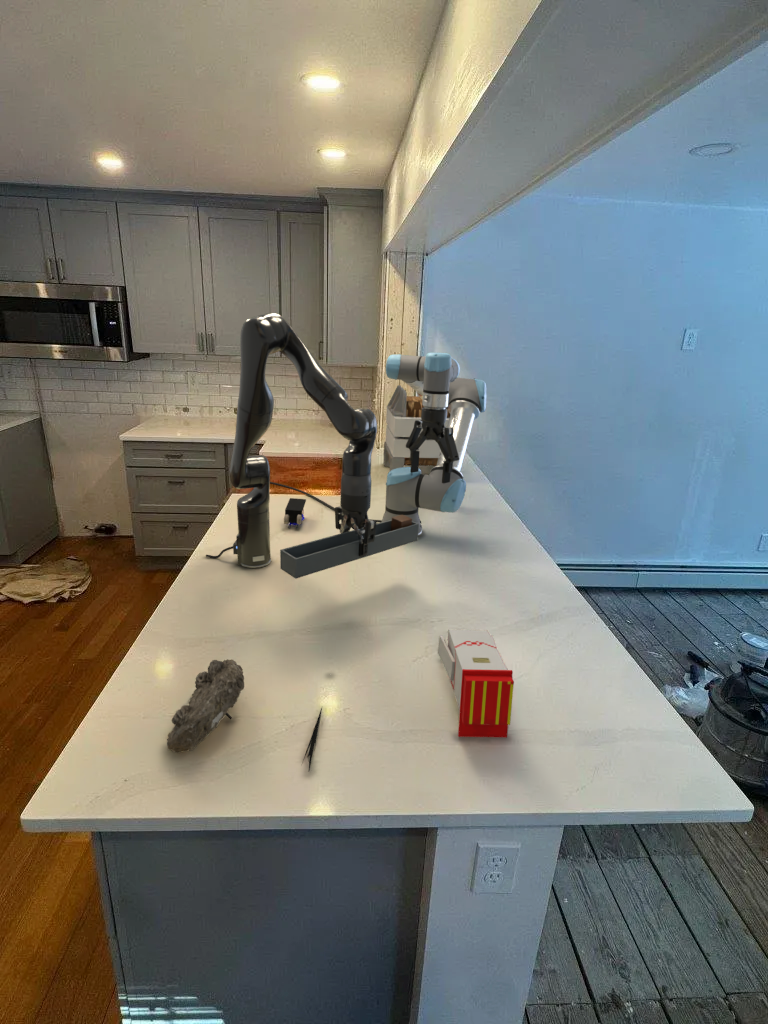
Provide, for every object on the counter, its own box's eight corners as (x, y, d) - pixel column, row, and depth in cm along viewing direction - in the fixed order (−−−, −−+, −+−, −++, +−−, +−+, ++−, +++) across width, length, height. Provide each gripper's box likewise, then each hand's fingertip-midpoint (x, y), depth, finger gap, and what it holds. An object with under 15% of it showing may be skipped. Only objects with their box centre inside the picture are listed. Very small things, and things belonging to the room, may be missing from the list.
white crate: (382, 463, 289) (386, 382, 275) (445, 464, 293) (451, 384, 279) (390, 482, 257) (394, 392, 243) (460, 483, 261) (468, 394, 247)
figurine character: (302, 534, 199) (307, 515, 212) (302, 515, 195) (306, 496, 209) (283, 533, 199) (289, 514, 212) (282, 514, 195) (288, 496, 209)
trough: (280, 568, 136) (280, 549, 134) (401, 533, 162) (402, 516, 160) (295, 578, 132) (295, 559, 130) (417, 540, 157) (418, 523, 155)
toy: (488, 613, 130) (523, 677, 101) (484, 667, 133) (517, 744, 104) (435, 612, 130) (455, 676, 101) (432, 666, 133) (451, 743, 103)
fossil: (192, 660, 117) (244, 628, 112) (224, 691, 120) (276, 661, 115) (142, 746, 98) (202, 712, 93) (182, 779, 101) (242, 748, 96)
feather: (331, 679, 122) (336, 673, 122) (307, 777, 96) (313, 769, 95) (324, 675, 122) (329, 669, 121) (298, 772, 95) (304, 764, 95)
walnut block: (390, 537, 157) (391, 517, 155) (400, 534, 159) (402, 514, 157) (400, 542, 154) (401, 521, 152) (410, 539, 157) (412, 518, 155)
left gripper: (326, 484, 143) (325, 545, 149) (362, 500, 133) (360, 564, 139) (349, 480, 148) (348, 538, 154) (386, 494, 138) (383, 557, 144)
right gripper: (396, 402, 172) (393, 469, 180) (457, 415, 155) (451, 489, 162) (414, 400, 177) (410, 466, 184) (475, 413, 160) (468, 485, 167)
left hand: (353, 550), depth 146 cm, fingers closed on trough, 6 cm apart
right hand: (429, 477), depth 173 cm, fingers open, 13 cm apart
